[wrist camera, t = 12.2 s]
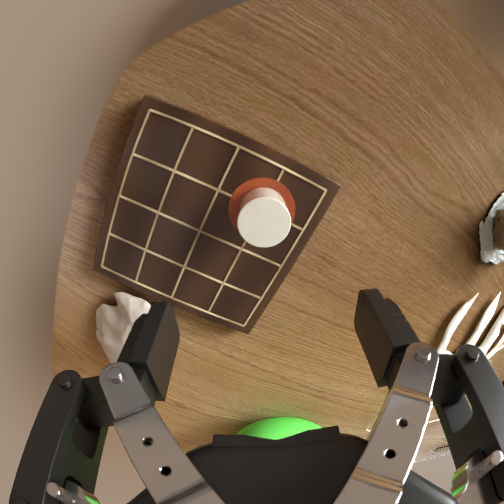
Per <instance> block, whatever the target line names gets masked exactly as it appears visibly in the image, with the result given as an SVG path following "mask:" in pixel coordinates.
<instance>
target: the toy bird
mask: <svg viewBox="0 0 504 504" xmlns="http://www.w3.org/2000/svg"><path fill="white" fill-rule="evenodd" d="M319 428H322V427H320V426H318V425H317V424H314V423H312V422H310V421H307V420H304V419H299V418H293V417H274V418H267V419H263V420H259V421H256V422H254V423H251V424H249V425H248V426H246V427H244V428H243V429H241V430H240V431H239V432H238V433H237V434H236V435H249V436H254V437H260V438H266V439H273V440H278V439H282V438H285V437H289V436H292V435H295V434H298V433H301V432H304V431H307V430H312V429H319Z"/></svg>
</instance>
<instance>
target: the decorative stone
mask: <svg viewBox="0 0 504 504" xmlns="http://www.w3.org/2000/svg"><path fill="white" fill-rule="evenodd" d="M114 296H115V298H116V300H117V303H118V305H117V306H110V305H107V304H101V305H100V306H99V307H98V309H97V310H96V326H97V331H96V335H97V340H98V341H99V342H100V343H101V345H102V348H103V351H104V353H105V354H106V355H107V357H108V359H109V361H110V363H111V364H112V363H116V362H117V360H118V357H119V355H120V353H121V350H122V348H123V346H124V344H125V341H126V339H127V338H128V335H129V333H130V331H131V328H132V326H133V324H134V322H135V320H136V319H137V318H138V317H140V316H141V315H142V314H148V312H149V309H150V307H151V305H150V304H149V303H148V302H147V301H146V300H143V299H142V298H137V297H135V296H132V295H130V294H126V293H125V292H116V293H115V294H114Z"/></svg>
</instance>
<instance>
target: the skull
mask: <svg viewBox="0 0 504 504" xmlns="http://www.w3.org/2000/svg"><path fill="white" fill-rule="evenodd" d="M497 201H498V202H495V203H494V204H493V206H492V208H491V210H490V211H489V213H488V217H486V220H485V222H484V223H483V220H482V221H481V222H480V224H479V230H480V231H479V235H480V238H479V240H480V242H481V250H480V252H481V253H480V256H481V258H480V261H481V263H482V264H486V263H488V262H489V261H491V262H494V264H496V265H497V264H500V263H501V262H502V261H504V193H502V194H501V196H500V197H499V198H498V200H497ZM482 223H483V224H482ZM484 260H485V261H484ZM488 260H489V261H488ZM494 264H492V265H494Z"/></svg>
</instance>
